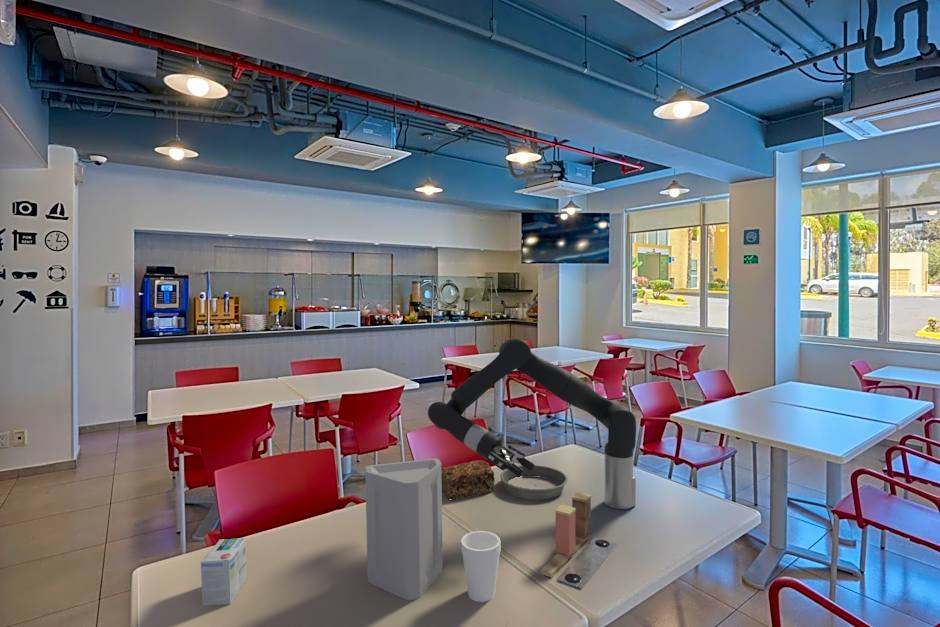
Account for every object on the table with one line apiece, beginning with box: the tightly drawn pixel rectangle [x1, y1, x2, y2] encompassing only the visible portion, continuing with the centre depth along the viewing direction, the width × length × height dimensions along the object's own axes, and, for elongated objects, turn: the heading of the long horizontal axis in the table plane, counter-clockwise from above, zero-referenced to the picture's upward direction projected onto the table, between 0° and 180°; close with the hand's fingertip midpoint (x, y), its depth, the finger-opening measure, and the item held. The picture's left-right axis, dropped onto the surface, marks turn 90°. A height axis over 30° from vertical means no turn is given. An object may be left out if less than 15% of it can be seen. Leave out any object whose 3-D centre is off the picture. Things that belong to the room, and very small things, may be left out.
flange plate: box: [556, 537, 617, 589], centre depth 131 cm, size 25×6×1 cm, turn 145°
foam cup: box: [460, 530, 502, 603], centre depth 117 cm, size 10×9×13 cm
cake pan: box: [499, 464, 569, 501], centre depth 180 cm, size 25×25×4 cm
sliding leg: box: [554, 504, 576, 556], centre depth 133 cm, size 4×4×12 cm
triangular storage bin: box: [364, 457, 444, 601], centre depth 122 cm, size 19×15×28 cm
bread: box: [441, 459, 496, 501], centre depth 177 cm, size 19×11×10 cm, turn 112°
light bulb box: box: [200, 537, 248, 607], centre depth 119 cm, size 11×7×11 cm, turn 5°
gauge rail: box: [540, 491, 592, 579], centre depth 134 cm, size 25×4×13 cm, turn 145°
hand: (527, 470), depth 141 cm, fingers open, 8 cm apart
